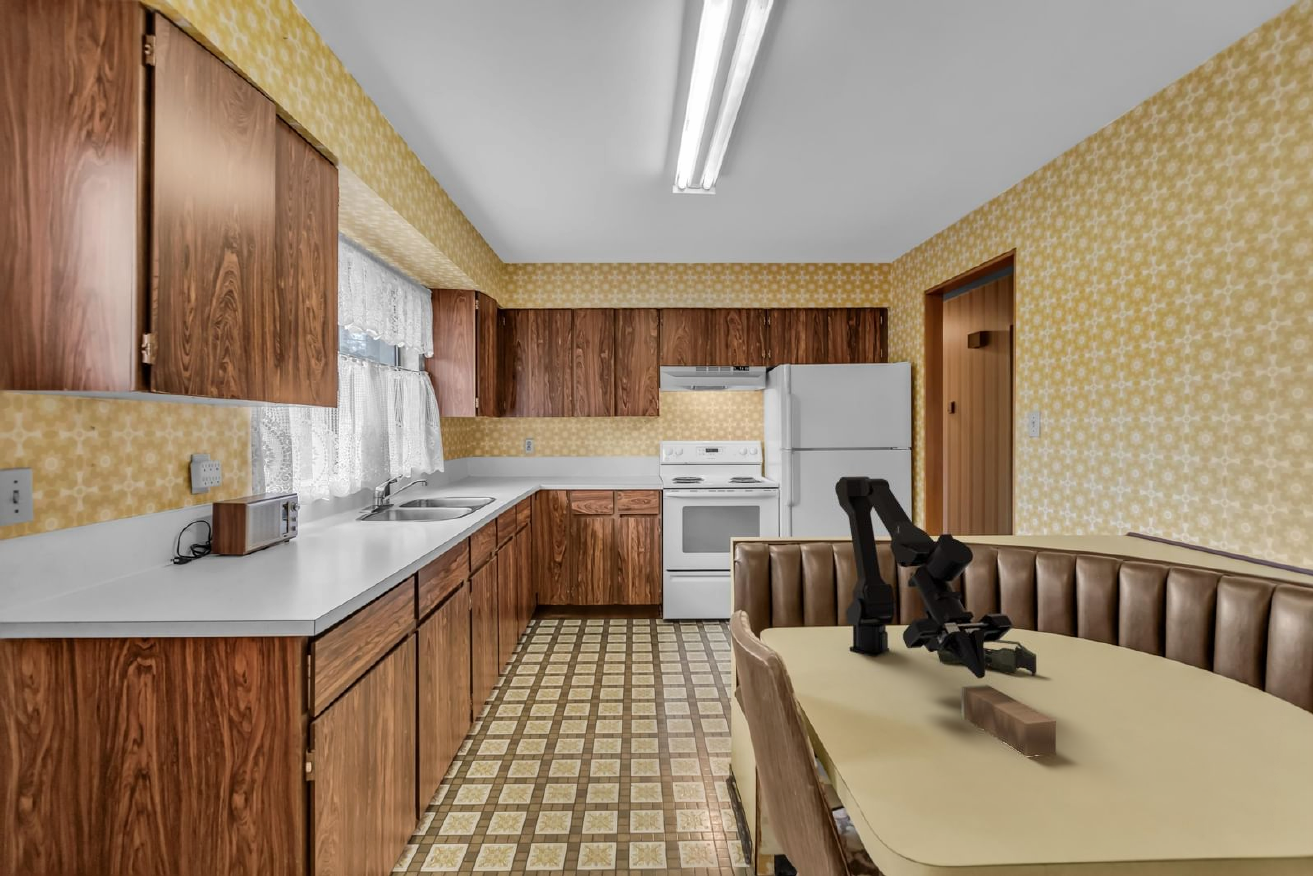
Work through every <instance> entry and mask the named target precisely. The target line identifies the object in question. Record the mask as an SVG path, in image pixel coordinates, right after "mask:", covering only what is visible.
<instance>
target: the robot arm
mask: <svg viewBox="0 0 1313 876" xmlns="http://www.w3.org/2000/svg"><path fill="white" fill-rule="evenodd" d="M834 487H835V488H834V489H835V493H836V496H837V499H838V501H837V502H838V504H839V506H840V508H842V510H843V511H844V512H845V514H846V515H847V516H848V517H847V518H848V521H849V523H848V524H849V529H850V535H851V540H852V541H851V542H852V548H853V554H854V560H855V568H856V575H857V580H856V583H855V585H854V588H853V590H852V599H853V600H852V602H851V603H850V605H849V606H848V608H847V609H846V610H845V617H846V621H847V622H848V623H850V624H852V642H853V643H852V646H850V647H848V648H849V651H851V652H855V653H858V654H859V653H860V654H864V655H867V656H871V657H875V658H877V657H879V656H881V655H883V654H885V653H887V652H889V651H890V647H889V639H888V638H889V636H888V635H889V633H888V631H886V629H887V628H886V627H887V625H892V624H893V620H894V616H895V611H896V607H897V606H896V603H897V602H896V600H895V597H894V590H893V586H892V584H890V583H886V582H885V580H884V579H883V578H882V575H881V569H880V563H879V556H878V551H877V544H876V539H875V538H876V537H875V532H874V527H873V521H872V514H871V513H872V510H873V509H874V511H875V512H876V514H877V516H878V517H879V519H880V520H881V522H882V524H883V525H884V527H885V529H886V531H887V532H888V534H889V536H890V550H891V552H892V554H893V558H894V559H895V561H896V563H897V564H898V565H899V566H900V567H901V568H916V570H915V571H914V572H910V577H909V579H908V581H907V586H908V588H916V589H917V591H918V593H919V595H920V597H921V600H923V603H924V605H925V606H924V607H923V608H922V612H923V615H924V617H925V618H915V619H913V620H912V621H911V623H910V624H909V625H908V626H907V627H906V628H905V630H904V631H903V633H902V640H903V642H904V645H905V646H906V648H907V649H918V648H919V649H920V648H922V647H923V646H924V648H926V650H927V651H928V652H929V653H934V652H937V651H948V652H951V653H952V654H953V655H955V656H956V657H957V658H958V659H959V660H960V661H961V662H960V663H962V664H963V665H964V666H965V668H967V669H968V670H969V671H970V672H971V673H972V674H973V675H974V676H975V677H976V678H977V679H983V678H985V676H986V669H985V667H986V666H984V648H985V647H984V646H985V643H996V642H995V641H998V640H1001V638H1003V637H1004V636H1005V635H1006V634H1007V633H1008V632H1009V631H1010V630H1012V628H1014V625H1013V623H1012V621H1011V620H1010V618H1009V616H1008V615H1007V614H1004V613H991V614H989V613H988V614H984V615H983V616H982V617H981V619H980V620H978V621H977V622H972V621H971V620H973V619H974V617H975V615H974V614H973V612H972V611H966V609H965V607H964V606H963V604H962V602H961V601H960V600H961V598H962V597H963V594H962V593H961V591H959V590H958V591H955V590H954V588H953V586H952V585H951V583H950V582H954V581H956V580H957V579H958V578H959V577H960V575H961V574H962V573H963V572H964V571H965V570H966V568H967V567H968V566H969V565H970V564H971V563H972V561H973V559H974V554H973V551H972V549H971V548H970V547H969V546H967V545H966V543H965V542H962V541H960V540H958V539H956V538H954V537H953V535H952V534H951V533H941V534H940V535H939V536H938V538H937V541H936V542H935V541H934V540H933V538H932V537H931V536H930V535H929V534H928V533H927V531H925V530H924V529H921V528H920V527H918V526H916V525H915V524H914V523H913V522H912V521H911V519H910V517H909V516H908V515H907V513H906V511H905V510H904V508H903V507H902V506H901V504H900V502H899V500H898V499H897V497H896V496H895V495H894V493H893V492H892V490H891V489H890V483H889V481H888V480H887V479H884V478H870V477H869V476H842V477H840V478H839V480H838V481H837V482H836V483H835V486H834Z"/></svg>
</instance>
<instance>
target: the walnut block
mask: <svg viewBox="0 0 1313 876" xmlns="http://www.w3.org/2000/svg"><path fill="white" fill-rule="evenodd" d="M961 717H962V718H963V717H964V718H963V719H965V720H966V719H968V720H969V721H968V720H967V721H968V722H970V723H971V722H972V723H971V724H973V723H974V724H975V726H976V725H977V726H976V727H978V728H979V729H981V728H982V729H984V730H983V731H984V732H985V731H986V733H987V732H989V733H990V734H991V735H990V734H989V733H988V734H989V735H990V736H992V735H993V736H994V738H995V737H997V738H998V739H1000V740H1001V741H1002V742H1001V741H1000V740H999V741H1000V742H1001V743H1003V742H1005V743H1007V744H1008V745H1009V746H1012V747H1013V748H1014V749H1016V750H1017V751H1019V752H1021V753H1022V754H1023V755H1026V756H1035V755H1046V756H1050V755H1049V754H1054V755H1057V749H1056V747H1057V746H1056V745H1057V741H1056V735H1057V733H1056V732H1057V731H1056V730H1057V729H1056V723H1057V722H1056V720H1055V719H1053V718H1051V717H1049V716H1048V715H1046V714H1043V713H1041V712H1039V711H1038V710H1036V709H1034V708H1032V707H1030V706H1028V705H1026V704H1025V703H1023V702H1021V701H1019V700H1017V699H1015V698H1013V697H1012V696H1010V695H1008V694H1005V693H1004V692H1002V691H1000V690H998V689H996V688H994V687H992V686H991V685H989V684H979V685H970V686H969V685H968V686H961ZM974 724H973V725H974ZM982 729H981V730H982ZM993 736H992V737H993ZM998 739H997V740H998ZM1008 745H1007V746H1008ZM1009 746H1008V747H1009ZM1014 749H1013V750H1014ZM1017 751H1016V752H1017ZM1019 752H1018V753H1019ZM1022 754H1021V755H1022ZM1023 755H1022V756H1023Z"/></svg>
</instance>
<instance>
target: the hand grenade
mask: <svg viewBox="0 0 1313 876" xmlns="http://www.w3.org/2000/svg"><path fill="white" fill-rule="evenodd" d="M994 643H999V644H1010V645H1016V646H1015V648H1009V647H1002V648H1000V649H996V648H995V649H994V648H989V647H988V648H987V647H984V666H985V667H989V668H993V669H998V671H1000V672H1001V673H1005V674H1010V673H1012V674H1011V675H1014V674H1016V672H1017V669H1018V670H1019V669H1025V670H1026V671H1029V672H1030V673H1031V676H1036V674H1037V654H1036V653H1034V652H1032V651H1030V650H1028V648H1026V647H1025V645H1022V644H1021V642H1019V641H1014V640H1004V639H999V640H998V641H995V642H994ZM936 654H937V657H938V659H939V661H940V662H944V663H949V664H951V663H953V662H959V663H962V662H961V661H960V660H959V659H958V658H957V657H956V656H955V655H953V654H952V653H951V652H948V651H936Z"/></svg>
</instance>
